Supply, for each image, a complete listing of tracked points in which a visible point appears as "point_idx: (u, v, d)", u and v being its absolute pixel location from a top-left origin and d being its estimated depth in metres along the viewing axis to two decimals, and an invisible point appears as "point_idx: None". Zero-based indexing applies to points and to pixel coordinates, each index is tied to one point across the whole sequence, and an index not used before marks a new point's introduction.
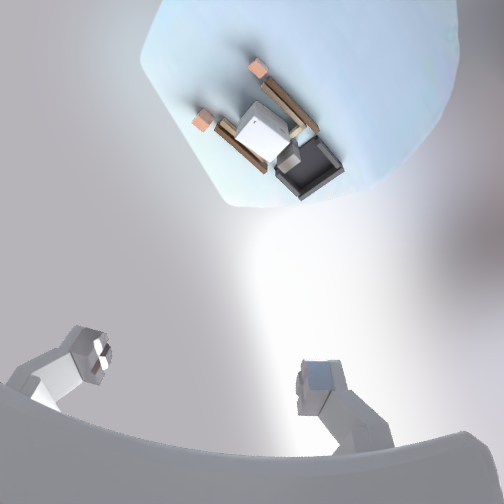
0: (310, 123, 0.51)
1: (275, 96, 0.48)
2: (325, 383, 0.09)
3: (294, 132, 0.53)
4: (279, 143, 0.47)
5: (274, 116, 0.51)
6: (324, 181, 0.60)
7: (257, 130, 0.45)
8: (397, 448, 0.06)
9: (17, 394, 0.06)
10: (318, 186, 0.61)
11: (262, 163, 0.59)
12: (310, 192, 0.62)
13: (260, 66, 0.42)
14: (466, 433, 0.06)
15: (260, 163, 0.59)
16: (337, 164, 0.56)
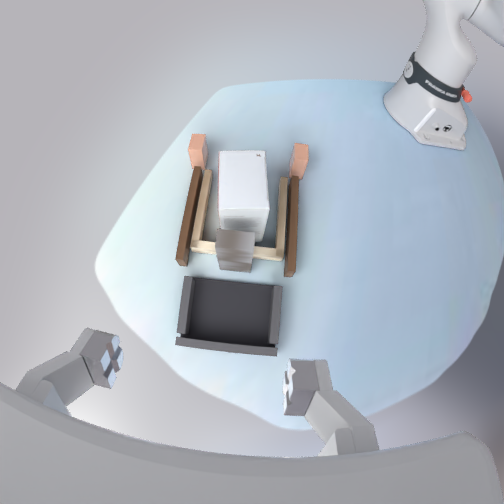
0: (293, 252, 0.37)
1: (284, 196, 0.40)
2: (310, 383, 0.09)
3: (263, 249, 0.37)
4: (257, 197, 0.31)
5: None
6: (235, 346, 0.33)
7: (251, 164, 0.32)
8: (397, 448, 0.06)
9: (17, 394, 0.06)
10: (220, 346, 0.33)
11: (187, 252, 0.38)
12: (200, 344, 0.33)
13: (306, 151, 0.39)
14: (466, 433, 0.06)
15: (186, 246, 0.37)
16: (276, 337, 0.33)
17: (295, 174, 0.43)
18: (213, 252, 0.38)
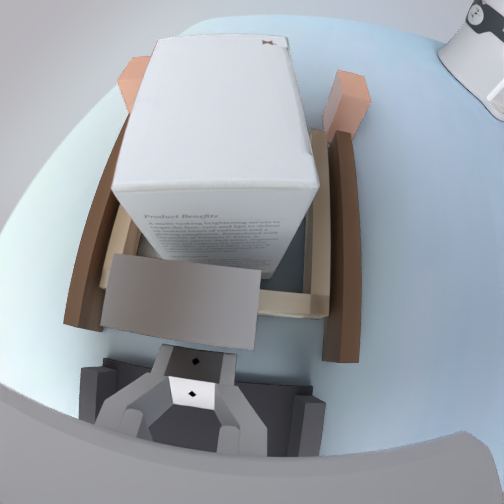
0: (354, 313, 0.13)
1: (324, 169, 0.17)
2: (210, 375, 0.09)
3: (278, 296, 0.14)
4: (266, 143, 0.07)
5: None
6: None
7: (245, 56, 0.09)
8: (397, 448, 0.06)
9: (17, 394, 0.06)
10: None
11: (95, 304, 0.14)
12: None
13: (364, 86, 0.16)
14: (466, 433, 0.06)
15: (90, 291, 0.14)
16: None
17: None
18: None
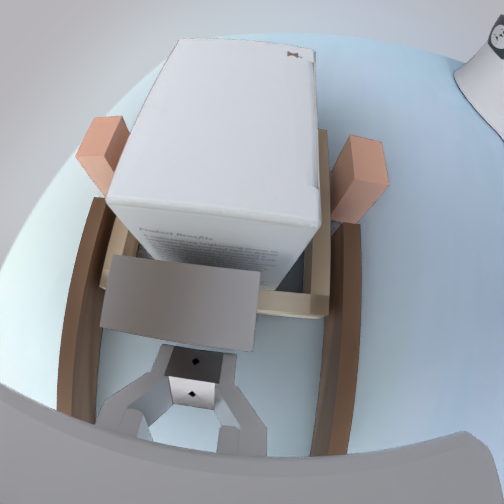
0: (340, 445, 0.11)
1: (324, 168, 0.17)
2: (210, 375, 0.09)
3: (278, 296, 0.14)
4: (270, 170, 0.07)
5: None
6: None
7: (266, 68, 0.08)
8: (397, 448, 0.06)
9: (17, 394, 0.06)
10: None
11: (84, 416, 0.12)
12: None
13: (381, 160, 0.14)
14: (466, 433, 0.06)
15: (78, 410, 0.12)
16: None
17: (345, 214, 0.17)
18: None
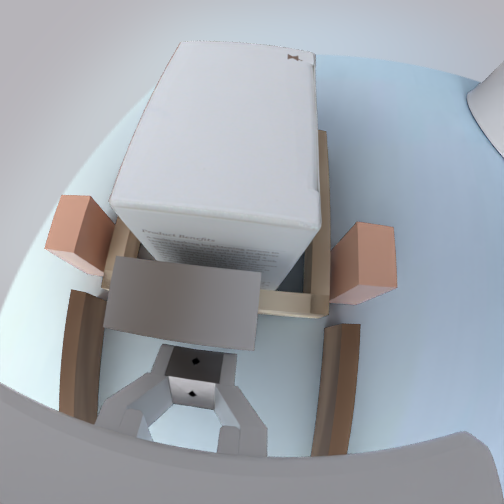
0: None
1: (324, 169, 0.17)
2: (211, 375, 0.09)
3: (278, 296, 0.14)
4: (271, 173, 0.07)
5: None
6: None
7: (266, 71, 0.08)
8: (397, 448, 0.06)
9: (17, 394, 0.06)
10: None
11: None
12: None
13: (391, 254, 0.12)
14: (466, 433, 0.06)
15: None
16: None
17: (345, 300, 0.16)
18: None
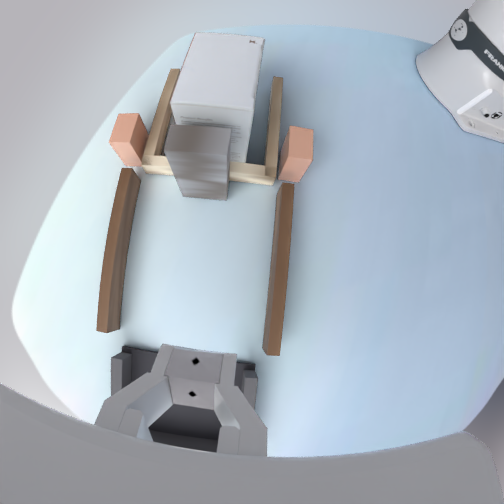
0: (277, 325, 0.22)
1: (279, 99, 0.26)
2: (211, 375, 0.09)
3: (246, 166, 0.24)
4: (235, 92, 0.17)
5: None
6: None
7: (238, 50, 0.17)
8: (397, 448, 0.06)
9: (17, 394, 0.06)
10: None
11: (114, 313, 0.22)
12: None
13: (310, 143, 0.22)
14: (466, 433, 0.06)
15: (111, 308, 0.22)
16: None
17: (288, 176, 0.26)
18: None
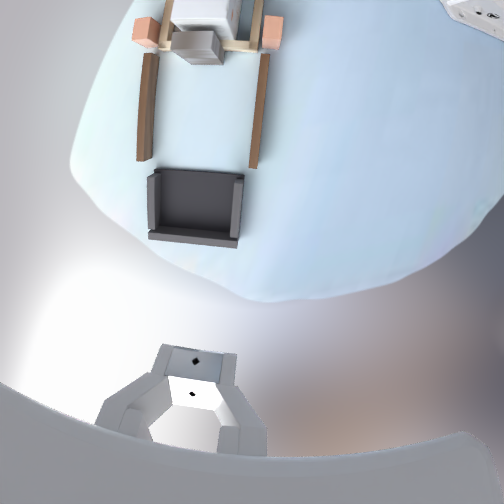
0: (255, 148, 0.32)
1: None
2: (211, 375, 0.09)
3: (235, 42, 0.27)
4: (214, 7, 0.19)
5: (237, 16, 0.25)
6: (199, 239, 0.37)
7: None
8: (397, 448, 0.06)
9: (17, 394, 0.06)
10: (186, 239, 0.37)
11: (148, 148, 0.34)
12: (169, 238, 0.37)
13: (280, 27, 0.24)
14: (466, 433, 0.06)
15: (146, 144, 0.33)
16: (235, 231, 0.37)
17: (269, 46, 0.28)
18: None
